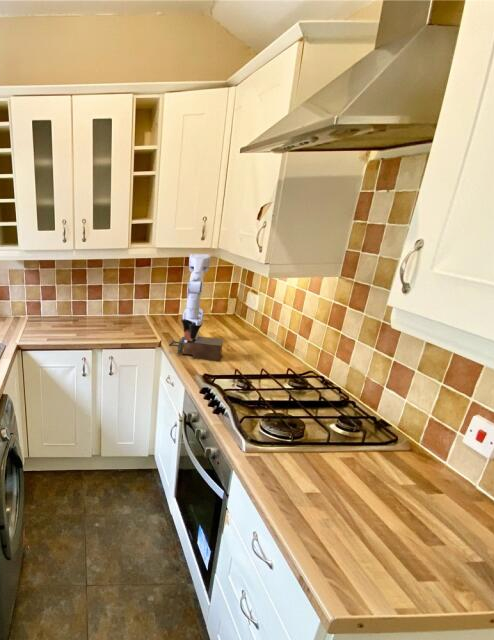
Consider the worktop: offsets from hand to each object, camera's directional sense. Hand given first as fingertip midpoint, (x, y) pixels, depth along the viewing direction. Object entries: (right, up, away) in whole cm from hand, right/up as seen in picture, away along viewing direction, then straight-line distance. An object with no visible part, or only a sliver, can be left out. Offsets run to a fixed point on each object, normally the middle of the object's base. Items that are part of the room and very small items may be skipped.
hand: (189, 336), depth 193 cm
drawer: (-1, -7, +4) cm, 8 cm away
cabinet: (+8, -9, 0) cm, 12 cm away
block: (0, -1, +1) cm, 1 cm away
